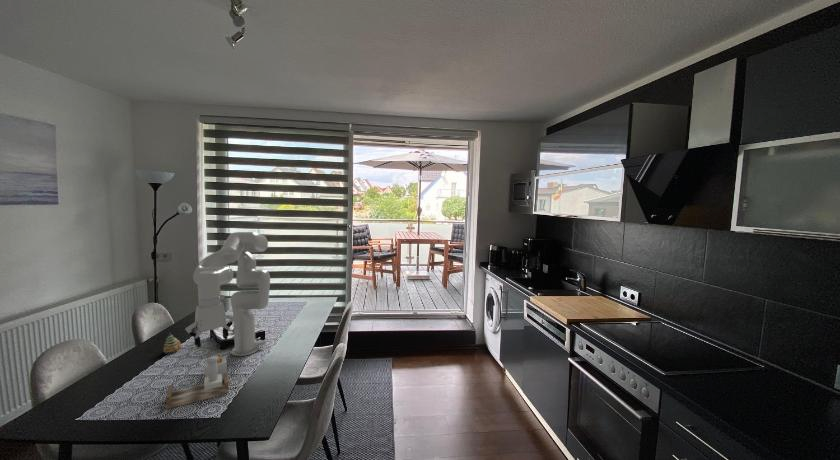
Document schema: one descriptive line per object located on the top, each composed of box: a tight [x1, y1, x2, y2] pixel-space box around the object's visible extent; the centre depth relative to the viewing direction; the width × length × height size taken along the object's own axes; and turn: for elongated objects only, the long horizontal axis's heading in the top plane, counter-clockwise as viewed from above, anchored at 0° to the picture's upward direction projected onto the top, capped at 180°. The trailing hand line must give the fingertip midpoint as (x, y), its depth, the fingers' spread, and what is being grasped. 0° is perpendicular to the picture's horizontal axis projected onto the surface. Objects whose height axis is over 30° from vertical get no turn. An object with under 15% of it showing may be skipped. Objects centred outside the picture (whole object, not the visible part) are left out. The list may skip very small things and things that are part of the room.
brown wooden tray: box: [165, 372, 229, 410], centre depth 131 cm, size 20×9×4 cm, turn 122°
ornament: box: [163, 332, 182, 355], centre depth 169 cm, size 8×6×10 cm
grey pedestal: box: [203, 355, 222, 390], centre depth 133 cm, size 6×7×11 cm
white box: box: [204, 355, 228, 379], centre depth 142 cm, size 8×7×8 cm
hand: (212, 342), depth 133 cm, fingers open, 9 cm apart
